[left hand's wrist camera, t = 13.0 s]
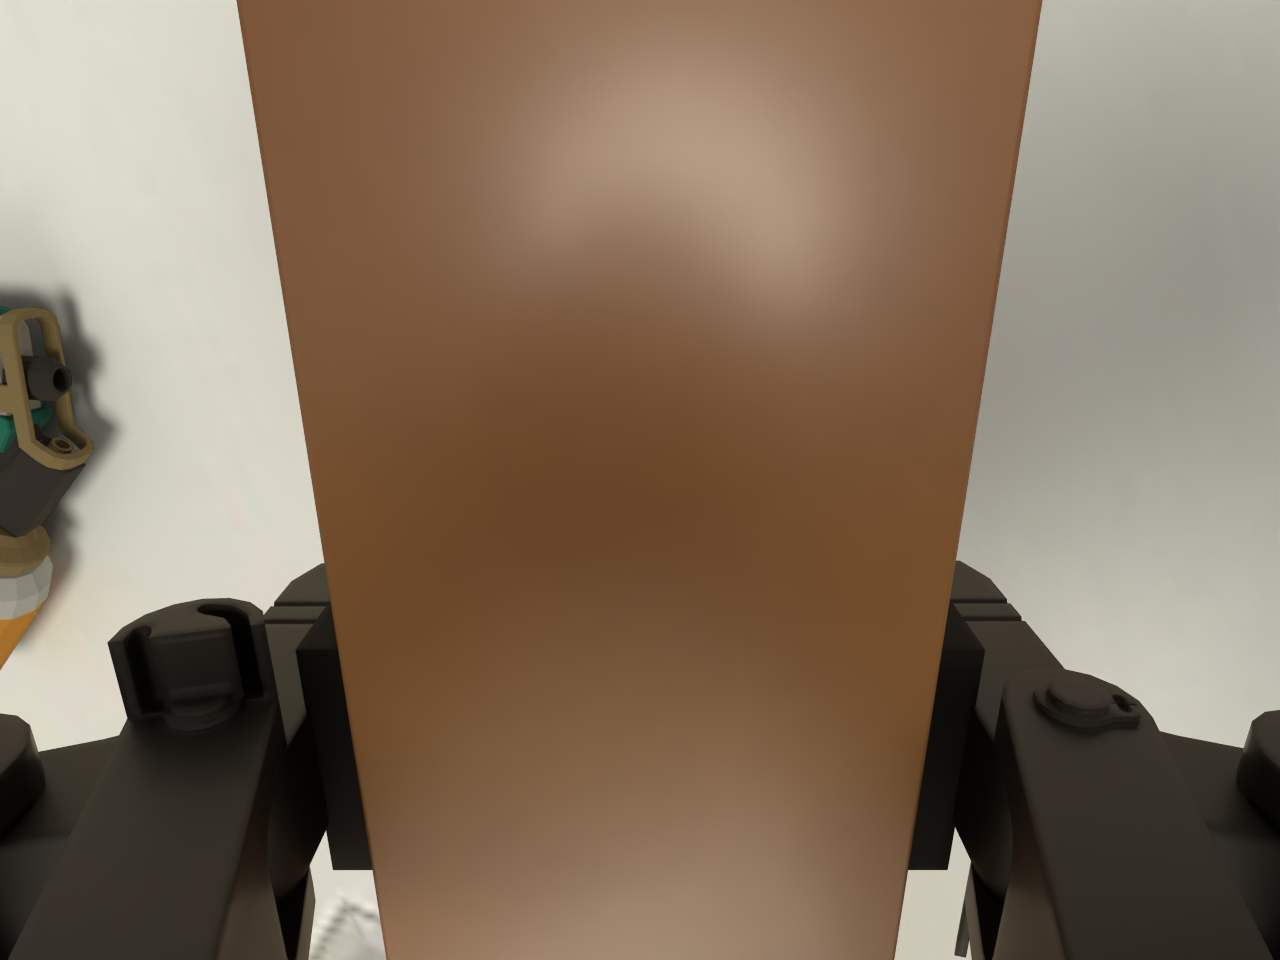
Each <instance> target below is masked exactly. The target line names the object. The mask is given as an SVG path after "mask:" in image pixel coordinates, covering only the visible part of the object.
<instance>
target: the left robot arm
mask: <svg viewBox="0 0 1280 960" xmlns="http://www.w3.org/2000/svg"><path fill="white" fill-rule="evenodd" d="M108 646H109V650H110V654H111V658H112V662H113V665H114V669H115V673H116V677H117V680H118V684H119V688H120V692H121V696H122V699H123V703H124V707H125V711H126V714H127V718H128V719H127V721H126V723H125V725H124V727H123V729H122V731H121V733H120V735H119V736H115V737H111V738H107V739H103V740H98V741H92V742H87V743H82V744H77V745H72V746H67V747H61V748H56V749H51V750H46V751H41V752H38V749H37V746H36V743H35V740H34V737H33V734H32V730H31V727H30V725H29V724H28V723H26V722H25V721H24V720H22V719H21V718H19V717H18V716H15V715H7V714H0V960H308V958H309V950H310V942H311V933H312V925H313V917H314V909H315V894H314V887H313V881H312V876H311V870H310V863H311V861H312V859H313V857H314V855H315V852H316V850H317V848H318V846H319V844H320V842H321V840H322V837H323V835H324V833H325V831H326V832H327V837H328V843H329V849H330V855H331V861H332V866H333V870H373V869H372V863H371V857H370V850H369V844H368V837H367V831H366V825H365V818H364V812H363V805H362V799H361V793H360V786H359V780H358V773H357V767H356V761H355V754H354V748H353V741H352V735H351V729H350V722H349V716H348V709H347V703H346V697H345V690H344V684H343V677H342V671H341V665H340V658H339V652H338V645H337V639H336V633H335V626H334V620H333V613H332V607H331V601H330V594H329V588H328V582H327V575H326V569H325V563H321V564H320V565H318V566H316V567H315V568H313V569H311V570H310V571H308V572H306V573H305V574H303V575H301V576H300V577H298V578H296V579H295V580H293V581H291V583H290V584H289V585H288V586H287V587H286V589H285V590H284V591H283V592H282V594H281V595H280V596H279V597H278V598H277V600H276V601H275V602H274V606H271V607H270V608H269V609H268V611H267V612H266V613H265V614H264V615H263V611H262V610H260V609H259V608H258V607H256V606H255V605H253V604H252V603H251V602H246V601H241V600H236V599H231V598H217V599H200V600H195V601H190V602H184V603H179V604H174V605H171V606H168V607H166V608H163V609H160V610H157V611H154V612H151V613H149V614H146V615H144V616H142V617H140V618H139V619H137V620H135V621H133V622H132V623H130V624H128V625H126V626H125V627H123V628H122V629H121V630H120V631H119V632H118V633H117V634H116V635H115V636H114V637H113V638H112V639H111V640H110V641H109V642H108ZM955 828H956V830H957V832H958V834H959V836H960V838H961V840H962V842H963V845H964V847H965V849H966V851H967V853H968V855H969V857H970V859H971V865H970V870H969V876H968V881H967V886H966V892H965V897H964V903H963V908H962V914H961V919H960V924H959V930H958V935H957V941H956V948H955V955H956V956H961V957H966V954H967V949H968V944H969V940H970V948H971V956H972V960H1280V710H1276V711H1269V712H1264V713H1263V714H1262V715H1260V716H1259V717H1257V718H1256V719H1255V720H1253V721H1252V724H1251V727H1250V730H1249V733H1248V736H1247V739H1246V743H1245V746H1244V748H1239V747H1234V746H1228V745H1223V744H1218V743H1213V742H1208V741H1202V740H1197V739H1192V738H1187V737H1182V736H1177V735H1173V734H1169V733H1165V732H1161V731H1159V729H1158V727H1157V725H1156V723H1155V721H1154V719H1153V717H1152V716H1151V715H1150V714H1149V712H1148V711H1147V710H1146V709H1145V708H1144V706H1143V705H1142V704H1141V703H1140V702H1139V701H1138V700H1137V699H1135V698H1134V697H1132V696H1131V695H1129V694H1128V693H1126V692H1125V691H1123V690H1122V689H1120V688H1119V687H1117V686H1115V685H1113V684H1111V683H1108V682H1106V681H1103V680H1101V679H1098V678H1096V677H1094V676H1091V675H1088V674H1083V673H1079V672H1075V671H1070V670H1066V669H1064V667H1063V666H1062V665H1061V664H1060V663H1059V661H1058V660H1057V659H1056V658H1055V657H1054V655H1053V654H1052V653H1051V652H1050V651H1049V649H1048V648H1047V647H1046V646H1045V645H1044V643H1043V642H1042V641H1041V640H1040V639H1039V637H1038V636H1037V635H1036V634H1035V632H1034V631H1033V630H1032V629H1031V628H1030V626H1029V625H1028V624H1027V623H1026V622H1025V621H1022V620H1021V616H1020V614H1019V613H1018V612H1017V611H1016V610H1015V608H1014V607H1013V606H1012V605H1011V604H1007V599H1006V598H1005V596H1004V595H1003V594H1002V593H1001V592H1000V590H999V589H998V588H997V587H996V586H995V584H994V583H993V582H992V581H991V580H990V578H988V577H986V576H985V575H983V574H981V573H979V572H978V571H976V570H974V569H973V568H971V567H969V566H968V565H966V564H964V563H963V562H961V561H956V562H955V569H954V575H953V582H952V588H951V595H950V601H949V608H948V614H947V620H946V627H945V633H944V640H943V646H942V653H941V659H940V666H939V672H938V679H937V685H936V692H935V698H934V705H933V711H932V718H931V724H930V730H929V737H928V743H927V750H926V756H925V763H924V769H923V776H922V782H921V789H920V795H919V802H918V808H917V815H916V821H915V828H914V834H913V840H912V847H911V853H910V860H909V866H908V870H948V864H949V858H950V853H951V847H952V841H953V835H954V829H955Z"/></svg>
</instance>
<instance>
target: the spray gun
mask: <svg viewBox="0 0 1280 960" xmlns="http://www.w3.org/2000/svg"><path fill="white" fill-rule="evenodd" d="M31 318H36V319H37V320H38V321H39V323H40V326H41V328H42V333H43V338H44V344H45V350H46V356H47V357H39V356H33V351H32V345H31V339H30V332H29V328H28V326H27V324H26V323H25V322H24V321H25V320H27V319H31ZM71 385H72V376H71V374H70V371H69V370H68V369H67V368H66V366H65V360H64V353H63V347H62V341H61V335H60V328H59V325H58V322H57V320H56V317H55V316H54V315H53V314H52V313H51V312H50V311H49V310H46V309H40V308H29V307H26V308H19V309H13V310H11V309H9V308H7V307H0V670H1V668H2V667H3V665H4V664H5V662H6V661H7V659H8V658H9V656H10V655H11V653H12V651H13V650H14V648H15V647H16V645H17V644H18V642H19V641H20V639H21V638H22V636H23V634H24V633H25V631H26V630H27V628H28V627H29V625H30V624H31V622H32V621H33V619H34V617H35V616H36V614H37V613H38V611H39V610H40V608H41V607H42V605H43V604H44V602H45V600H46V599H47V597H48V593H49V588H50V583H51V578H52V571H53V564H52V562H51V559H50V557H49V555H48V554H49V550H50V544H51V541H50V539H49V536H48V534H47V532H46V530H45V528H44V527H43V526H42V525H41V524H42V523H43V522H44V521H45V519H46V518H47V517H48V515H49V514H50V513H51V511H52V510H53V508H54V507H55V506H56V504H57V503H58V502H59V500H60V499H61V498H62V496H63V495H64V493H65V492H66V491H67V489H68V488H69V487H70V485H71V484H72V483H73V481H74V480H75V479H76V477H77V476H78V474H79V473H80V472H81V470H82V469H83V468H84V466H85V461H86V460H87V459H88V458H89V456H90V455H91V453H92V452H93V450H94V444H93V441H92V440H91V439H90V438H89V437H88V436H87V435H86V434H85V433H84V432H83V431H81V430H80V429H78V428H77V427H76V426H75V422H74V416H73V410H72V404H71V397H70V391H69V389H70V387H71ZM40 400H41V401H54V402H55V408H56V414H57V419H58V425H59V431H60V432H61V433H62V434H63V435H65V436H66V437H67V438H68V439H70V440H71V441H72V442H73V443H75V445H76V446H77V447H78V448H79V449H80V450H78V451H76V452H73V453H71V451H72V449H73V446H72V444H71V443H70V442H69V441H67V440H65V439H63V438H58V437H56V438H53V439H50V438H48V437H45V436H43V434H42V432H41V430H40V429H41V428H42V427H43V426H44V425H45V424H46V423H47V421H48V420H49V419H50V418H51V416H52V410H51V407H49V406H48V405H46V404H41V402H40Z"/></svg>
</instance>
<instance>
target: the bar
mask: <svg viewBox="0 0 1280 960" xmlns="http://www.w3.org/2000/svg"><path fill="white" fill-rule="evenodd" d="M237 6H238V12H239V19H240V25H241V31H242V38H243V44H244V51H245V57H246V63H247V70H248V76H249V83H250V89H251V95H252V102H253V108H254V115H255V121H256V127H257V134H258V140H259V147H260V153H261V159H262V166H263V172H264V179H265V185H266V191H267V198H268V204H269V210H270V217H271V223H272V230H273V236H274V242H275V249H276V255H277V262H278V268H279V274H280V281H281V287H282V294H283V300H284V306H285V313H286V319H287V326H288V332H289V338H290V345H291V351H292V358H293V364H294V370H295V377H296V383H297V390H298V396H299V402H300V409H301V415H302V422H303V428H304V434H305V441H306V447H307V454H308V460H309V466H310V473H311V479H312V486H313V492H314V498H315V505H316V511H317V518H318V524H319V530H320V537H321V543H322V550H323V556H324V562H325V569H326V575H327V582H328V588H329V594H330V601H331V607H332V613H333V620H334V626H335V633H336V639H337V645H338V652H339V658H340V665H341V671H342V677H343V684H344V690H345V697H346V703H347V709H348V716H349V722H350V729H351V735H352V741H353V748H354V754H355V761H356V767H357V773H358V780H359V786H360V793H361V799H362V805H363V812H364V818H365V825H366V831H367V837H368V844H369V850H370V857H371V863H372V869H373V876H374V882H375V889H376V895H377V901H378V908H379V914H380V921H381V927H382V933H383V940H384V946H385V953H386V959H387V960H894V957H895V951H896V944H897V938H898V931H899V925H900V918H901V912H902V905H903V899H904V892H905V886H906V879H907V873H908V866H909V860H910V853H911V847H912V840H913V834H914V828H915V821H916V815H917V808H918V802H919V795H920V789H921V782H922V776H923V769H924V763H925V756H926V750H927V743H928V737H929V730H930V724H931V718H932V711H933V705H934V698H935V692H936V685H937V679H938V672H939V666H940V659H941V653H942V646H943V640H944V633H945V627H946V620H947V614H948V608H949V601H950V595H951V588H952V582H953V575H954V569H955V562H956V556H957V549H958V543H959V536H960V530H961V523H962V517H963V510H964V504H965V498H966V491H967V485H968V478H969V472H970V465H971V459H972V452H973V446H974V439H975V433H976V426H977V420H978V413H979V407H980V400H981V394H982V388H983V381H984V375H985V368H986V362H987V355H988V349H989V342H990V336H991V329H992V323H993V316H994V310H995V303H996V297H997V290H998V284H999V277H1000V271H1001V265H1002V258H1003V252H1004V245H1005V239H1006V232H1007V226H1008V219H1009V213H1010V206H1011V200H1012V193H1013V187H1014V180H1015V174H1016V167H1017V161H1018V155H1019V148H1020V142H1021V135H1022V129H1023V122H1024V116H1025V109H1026V103H1027V96H1028V90H1029V83H1030V77H1031V70H1032V64H1033V57H1034V51H1035V45H1036V38H1037V32H1038V25H1039V19H1040V12H1041V6H1042V0H237Z"/></svg>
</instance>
